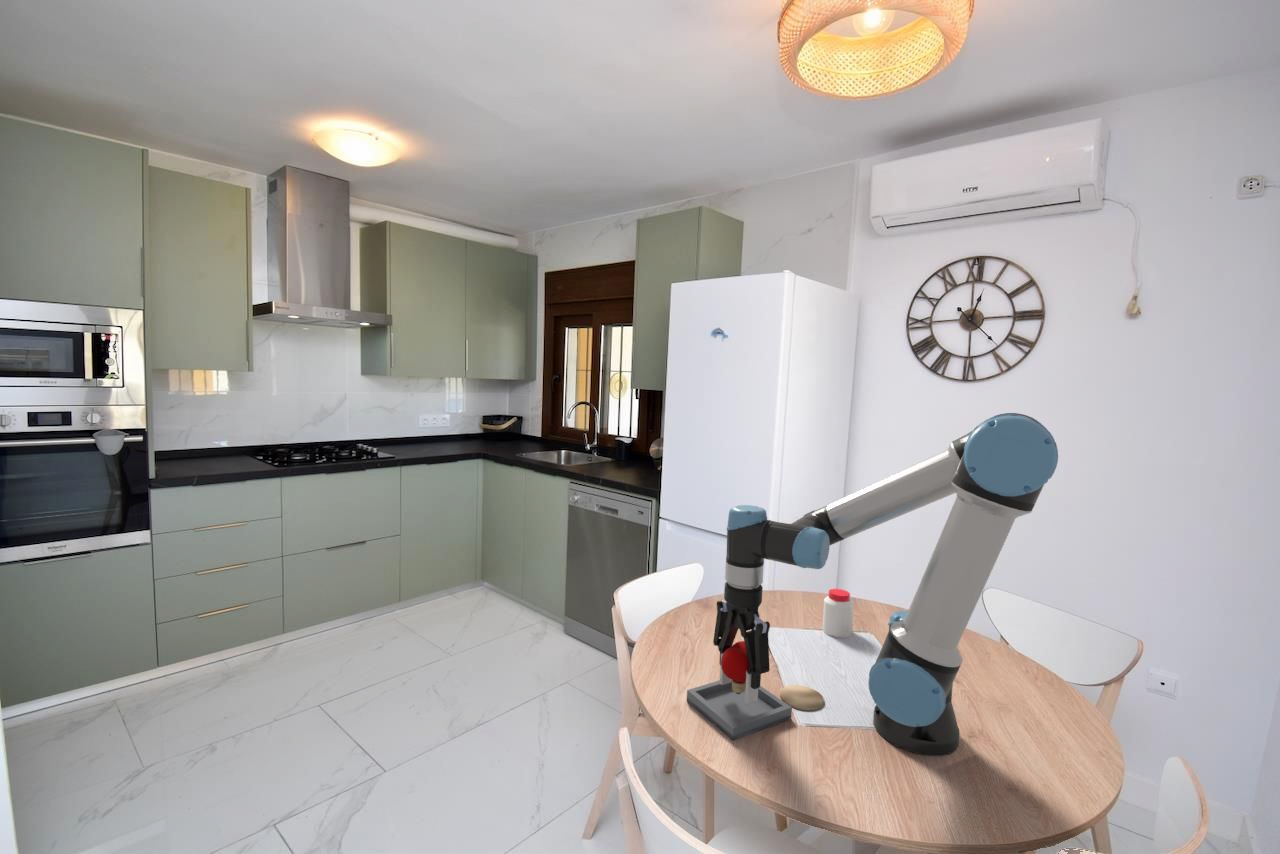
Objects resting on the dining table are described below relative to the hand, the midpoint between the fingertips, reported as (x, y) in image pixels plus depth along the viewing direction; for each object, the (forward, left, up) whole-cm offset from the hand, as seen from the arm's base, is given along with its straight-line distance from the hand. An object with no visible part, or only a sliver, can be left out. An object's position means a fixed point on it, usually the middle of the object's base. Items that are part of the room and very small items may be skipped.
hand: (738, 691), depth 119 cm
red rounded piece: (0, 0, -1) cm, 1 cm away
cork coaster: (-3, -15, -4) cm, 16 cm away
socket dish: (0, 0, -4) cm, 4 cm away
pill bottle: (+17, -49, -4) cm, 52 cm away
